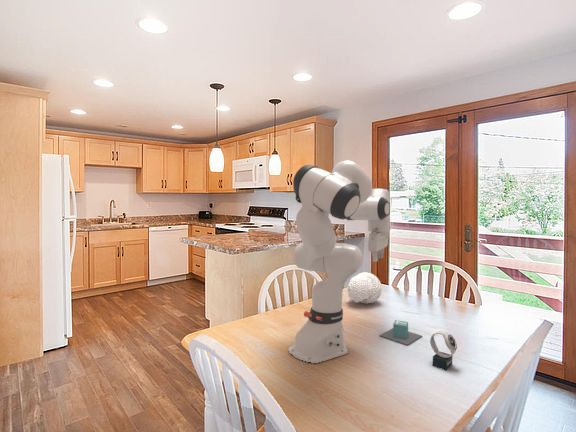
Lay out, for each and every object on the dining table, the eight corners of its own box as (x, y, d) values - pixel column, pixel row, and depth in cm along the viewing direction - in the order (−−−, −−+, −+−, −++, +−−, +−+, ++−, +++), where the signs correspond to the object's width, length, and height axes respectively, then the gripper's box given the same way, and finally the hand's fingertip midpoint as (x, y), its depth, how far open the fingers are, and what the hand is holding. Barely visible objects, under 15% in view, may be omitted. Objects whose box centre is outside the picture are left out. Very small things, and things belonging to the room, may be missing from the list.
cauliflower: (358, 297, 188) (359, 268, 187) (388, 303, 176) (389, 272, 176) (340, 305, 172) (340, 274, 171) (372, 313, 161) (372, 279, 160)
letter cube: (406, 338, 130) (406, 325, 130) (393, 336, 133) (393, 323, 133) (408, 334, 135) (408, 321, 135) (395, 331, 137) (395, 319, 137)
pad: (407, 345, 125) (407, 344, 125) (379, 336, 134) (379, 335, 134) (422, 336, 134) (422, 335, 134) (394, 328, 142) (394, 327, 142)
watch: (452, 372, 106) (453, 338, 106) (427, 363, 112) (427, 331, 111) (458, 366, 110) (459, 333, 110) (433, 358, 116) (434, 327, 115)
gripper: (380, 229, 130) (379, 264, 131) (391, 225, 148) (390, 256, 149) (364, 228, 133) (363, 263, 134) (377, 225, 151) (376, 255, 152)
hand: (378, 259), depth 141 cm, fingers open, 8 cm apart
